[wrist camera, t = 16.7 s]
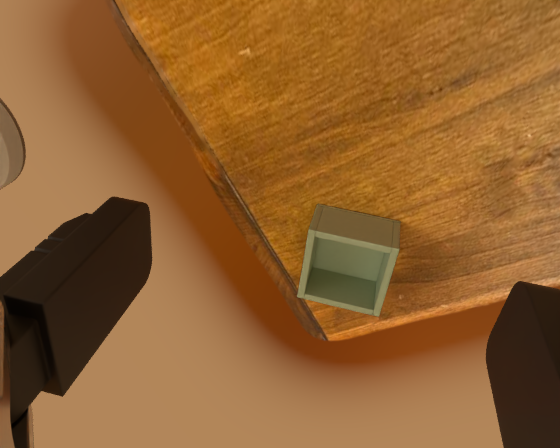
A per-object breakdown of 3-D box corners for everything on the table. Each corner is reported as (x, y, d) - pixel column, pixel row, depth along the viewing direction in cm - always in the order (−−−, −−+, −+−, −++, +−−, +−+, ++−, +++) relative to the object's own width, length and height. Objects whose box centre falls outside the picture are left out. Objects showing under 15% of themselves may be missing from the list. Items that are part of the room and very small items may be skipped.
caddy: (305, 268, 45) (296, 297, 41) (317, 203, 41) (308, 229, 37) (381, 285, 44) (378, 317, 40) (400, 221, 40) (399, 249, 36)
